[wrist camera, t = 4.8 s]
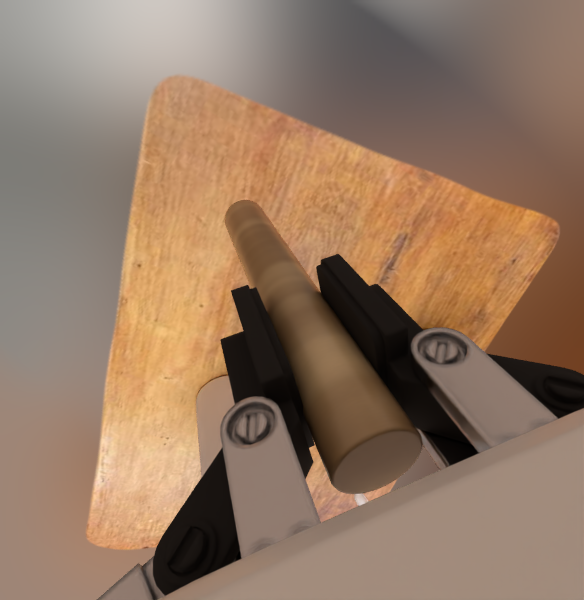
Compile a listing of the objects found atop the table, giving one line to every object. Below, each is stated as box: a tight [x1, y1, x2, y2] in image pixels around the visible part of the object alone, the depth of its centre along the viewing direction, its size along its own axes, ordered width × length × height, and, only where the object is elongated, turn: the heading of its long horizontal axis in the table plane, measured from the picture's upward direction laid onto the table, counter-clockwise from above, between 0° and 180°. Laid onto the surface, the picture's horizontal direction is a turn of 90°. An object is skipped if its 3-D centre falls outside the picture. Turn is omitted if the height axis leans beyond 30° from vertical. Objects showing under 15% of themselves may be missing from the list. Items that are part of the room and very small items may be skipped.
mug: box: [196, 375, 235, 478], centre depth 34 cm, size 10×7×12 cm, turn 9°
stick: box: [225, 200, 423, 494], centre depth 13 cm, size 2×2×14 cm
